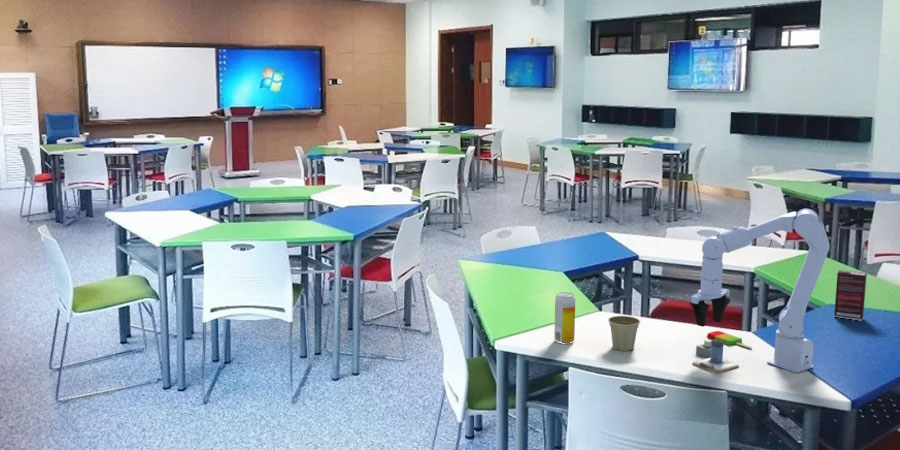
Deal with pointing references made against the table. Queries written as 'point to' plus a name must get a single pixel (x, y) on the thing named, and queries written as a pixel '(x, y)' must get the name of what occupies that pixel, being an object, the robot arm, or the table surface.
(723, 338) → the popsicle
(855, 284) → the supplement box
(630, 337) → the flower pot
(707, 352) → the button housing
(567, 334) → the beer can
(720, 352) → the blue small bottle
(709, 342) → the button
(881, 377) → the table surface
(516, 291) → the table surface
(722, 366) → the clipboard
